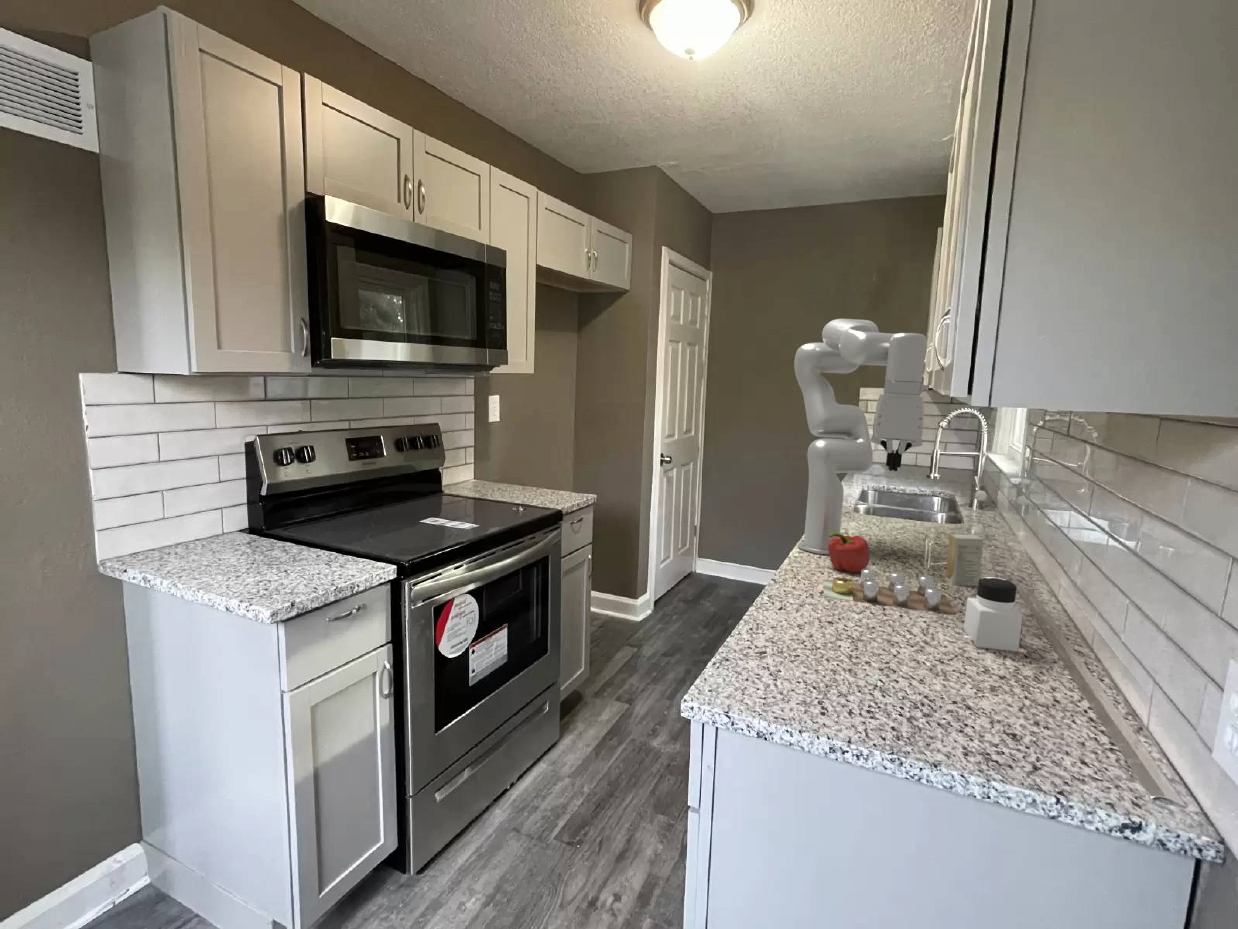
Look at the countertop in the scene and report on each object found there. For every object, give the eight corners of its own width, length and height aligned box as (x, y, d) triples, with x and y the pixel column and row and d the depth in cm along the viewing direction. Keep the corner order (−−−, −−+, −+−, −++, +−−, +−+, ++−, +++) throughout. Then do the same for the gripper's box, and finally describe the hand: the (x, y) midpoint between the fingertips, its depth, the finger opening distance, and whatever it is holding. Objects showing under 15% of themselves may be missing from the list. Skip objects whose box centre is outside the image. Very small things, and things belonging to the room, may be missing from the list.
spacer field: (859, 584, 145) (861, 567, 144) (930, 593, 140) (932, 576, 140) (863, 601, 133) (864, 583, 133) (940, 611, 129) (942, 593, 128)
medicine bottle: (1019, 652, 112) (1027, 588, 110) (975, 647, 113) (983, 584, 112) (1003, 637, 119) (1011, 576, 117) (962, 632, 120) (969, 572, 119)
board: (823, 582, 148) (823, 579, 148) (944, 598, 140) (945, 594, 140) (823, 600, 135) (823, 596, 135) (956, 618, 128) (957, 614, 128)
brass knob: (829, 587, 142) (830, 576, 141) (850, 589, 141) (851, 578, 141) (834, 594, 137) (835, 583, 137) (855, 595, 137) (856, 584, 136)
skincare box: (970, 583, 151) (976, 534, 150) (979, 589, 147) (985, 539, 146) (943, 581, 152) (948, 532, 150) (950, 587, 148) (956, 537, 146)
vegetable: (834, 578, 152) (838, 538, 150) (816, 565, 162) (819, 527, 160) (877, 578, 153) (881, 538, 152) (855, 565, 163) (859, 528, 162)
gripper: (936, 390, 141) (926, 470, 144) (865, 387, 146) (857, 464, 149) (941, 392, 134) (930, 476, 137) (867, 388, 139) (858, 469, 142)
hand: (892, 469), depth 143 cm, fingers closed
